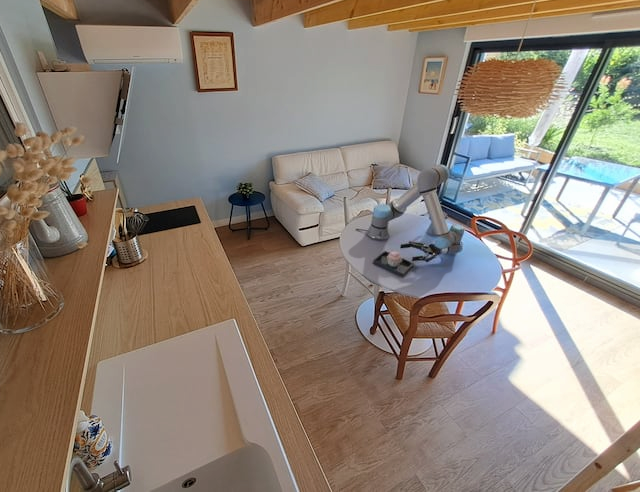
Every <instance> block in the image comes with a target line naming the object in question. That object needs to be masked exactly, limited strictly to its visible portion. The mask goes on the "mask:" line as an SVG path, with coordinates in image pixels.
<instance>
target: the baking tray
mask: <svg viewBox="0 0 640 492" xmlns="http://www.w3.org/2000/svg"><path fill="white" fill-rule="evenodd" d="M390 253H391V252H389V251H387V250H384V251H382V252H381V253H380V254H379V255H378V256H376V257H375V258H374V259H373V262H372V264H373V265H375V266H378V267H379V268H381V269H383V270H386V271H388V272H389V273H392V274H394V275H396V276H398V277H400V278H404V277H405V276H406V275H407V274H408V273H409V272H410V270H412V268H413V267H414V262H413V261H409V260H407V259H405V258H403V257H401V258H402V260H403V261H401V263H400V264H399V266H398V267H391V266H390V265H389V264H388V259H387V256H388V255H389V254H390Z"/></svg>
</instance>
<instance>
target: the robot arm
mask: <svg viewBox="0 0 640 492" xmlns="http://www.w3.org/2000/svg"><path fill="white" fill-rule="evenodd" d="M450 176H451V174H450V169H449V168H448V167H447V166H446V165H444V164H435V165H433V166H430V167H427V168H424V169H422V170H421V171H420V172H419V174H418V176H417V178H416V179H417V180H416V182H415V184H413V185H412V186H411V187H410V188H408V189H407V190H406V191H405V192H404V193H402V195H400V196H398V198H394V199H392V200H391V201H390V202H389V203H387V204H385V203H379V204H376V205H375V206H374V207H373V209H372V216H371V222H370V225H369V227H368V229H362V228H356V231H364V232H366V235H367V237H368V238H369V239H371V240H375V241H385V240H388V238H389V228H388V226H389V222H390V221H392V220H394V219H395V220H396V219H397V218H400V217H402V216H403V215H404V214H405V213H406V211H407V208H408V207H409V206H410V205H412V204H413V203H414V202H415V201H417V200H418V199H419V198H421V197H422V199H423V202H424V204H425V208H426V211H427V213H428V218H429V217H430V219H429V221H430V224H431V223H432V226H433V229H434V232H435V235H436V236H435V239H434V242H433V243H430V244H429V245H427V244H426V242H419V241H413V240H409V241H408V243H403V244H402V243H401V244H400V247H399V249H409V248H413V249H417V250H420V251H422V252H423V253H424V255H417V256H412V258H411V262H420V261H421V262H422V261H423V262H425V263H427V264H428V263H429V262H431V261H432V260H434V259H437V257H438V256H441V255H453V254H454V253H457V254H458V253H462V251H463V250H464V249H463V245H462V244H461V242H462V239H463V237H464V234H465V230H466V229H465V228H464V227H463V226H462V225H460V224H452V225H451V226H450V228H449V226H448V225H447V220H445V218H444V215H443V212H444V211H443V209H442V205H441V203H440V200H439V197H438V194H437V191H438V186H440V185H441V184H443V183H446V182H447V181H448V180H449V179H450Z"/></svg>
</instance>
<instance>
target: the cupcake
mask: <svg viewBox="0 0 640 492" xmlns="http://www.w3.org/2000/svg"><path fill="white" fill-rule="evenodd" d="M389 253H390V254H389V255H388V256H387V259H388V264H389V265H390V266H391V267H398V266H399V264H400V263H401V261H403V260H402V258H403V257H402V255H401V253H399V252H398V251H391V252H389Z"/></svg>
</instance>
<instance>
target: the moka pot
mask: <svg viewBox="0 0 640 492" xmlns="http://www.w3.org/2000/svg"><path fill="white" fill-rule="evenodd" d="M443 215H444V218H445V221H447V220H448V219H449V218H448V213H446V212H445V211H443ZM428 220H430V217H429V216H428ZM426 233H427V234H428V235H430V236H433V237H436V235H435V232H434V229H433V226H432V223H431V222H430V223H429V226H428V228H427V230H426Z"/></svg>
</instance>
